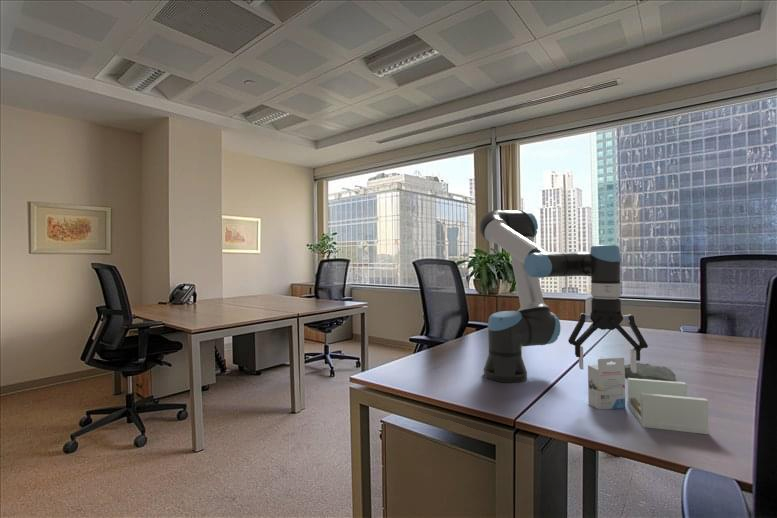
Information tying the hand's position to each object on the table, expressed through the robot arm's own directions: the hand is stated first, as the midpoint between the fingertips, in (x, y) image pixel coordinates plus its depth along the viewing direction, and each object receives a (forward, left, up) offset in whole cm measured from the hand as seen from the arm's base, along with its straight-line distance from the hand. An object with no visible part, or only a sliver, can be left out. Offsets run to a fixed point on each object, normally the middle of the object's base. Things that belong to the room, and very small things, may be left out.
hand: (606, 370), depth 112 cm
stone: (+20, +33, -11) cm, 40 cm away
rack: (+13, -5, -11) cm, 17 cm away
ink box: (0, 0, -11) cm, 11 cm away
